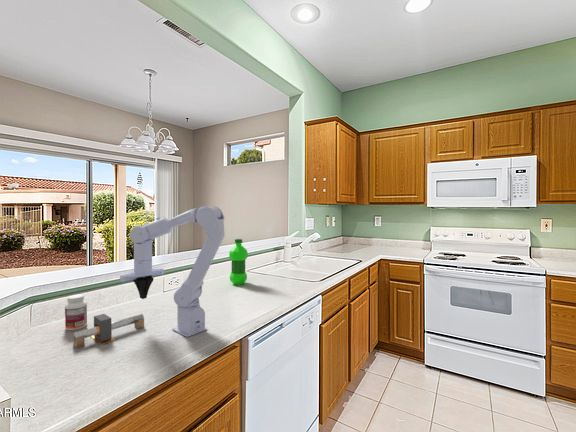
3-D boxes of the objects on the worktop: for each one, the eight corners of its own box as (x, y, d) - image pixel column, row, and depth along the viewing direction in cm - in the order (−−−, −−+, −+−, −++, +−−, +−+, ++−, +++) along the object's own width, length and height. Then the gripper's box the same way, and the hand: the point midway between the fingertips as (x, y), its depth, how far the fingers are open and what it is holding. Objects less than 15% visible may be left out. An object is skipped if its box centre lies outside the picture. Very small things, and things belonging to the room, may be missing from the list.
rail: (136, 323, 106) (136, 311, 105) (148, 329, 100) (148, 316, 100) (70, 342, 90) (70, 328, 90) (80, 351, 84) (79, 337, 84)
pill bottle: (72, 323, 104) (72, 293, 104) (90, 323, 105) (90, 293, 105) (60, 331, 98) (60, 299, 98) (80, 330, 99) (79, 298, 98)
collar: (104, 333, 96) (104, 313, 96) (111, 338, 92) (111, 318, 92) (94, 336, 94) (93, 316, 93) (101, 341, 90) (100, 320, 90)
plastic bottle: (232, 281, 167) (232, 238, 166) (249, 281, 165) (250, 238, 165) (226, 285, 157) (226, 240, 156) (244, 286, 155) (245, 240, 155)
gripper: (157, 256, 110) (157, 291, 110) (116, 261, 98) (116, 300, 99) (167, 258, 105) (167, 294, 106) (125, 264, 94) (125, 305, 94)
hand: (143, 298), depth 102 cm, fingers closed
